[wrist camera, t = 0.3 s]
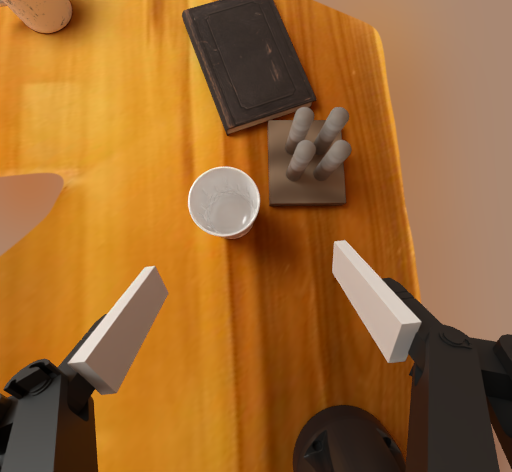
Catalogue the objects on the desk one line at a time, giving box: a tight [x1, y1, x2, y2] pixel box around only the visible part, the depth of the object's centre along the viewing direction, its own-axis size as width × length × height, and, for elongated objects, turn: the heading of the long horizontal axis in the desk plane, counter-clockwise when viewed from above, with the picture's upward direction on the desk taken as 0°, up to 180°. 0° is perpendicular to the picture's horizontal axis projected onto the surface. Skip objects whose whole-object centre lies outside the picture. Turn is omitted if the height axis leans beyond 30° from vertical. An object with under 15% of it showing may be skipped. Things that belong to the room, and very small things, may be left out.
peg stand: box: [268, 107, 351, 206], centre depth 27 cm, size 14×12×8 cm
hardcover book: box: [182, 0, 316, 136], centre depth 33 cm, size 16×23×2 cm
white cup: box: [188, 167, 260, 239], centre depth 25 cm, size 8×8×10 cm
